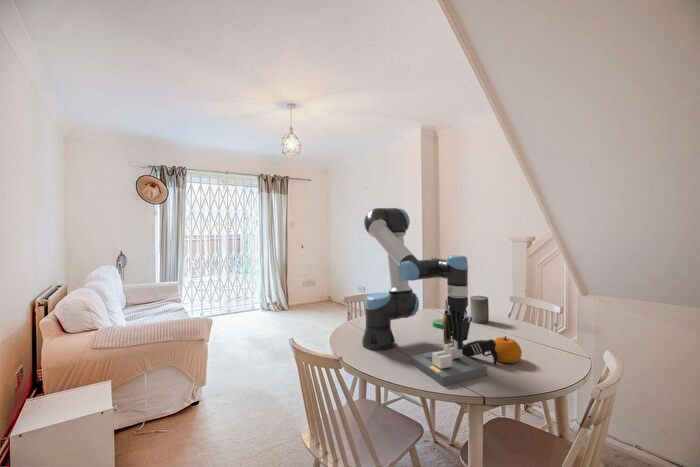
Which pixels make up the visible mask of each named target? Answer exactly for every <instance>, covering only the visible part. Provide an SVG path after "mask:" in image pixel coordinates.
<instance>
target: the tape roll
mask: <svg viewBox="0 0 700 467" xmlns="http://www.w3.org/2000/svg"><path fill="white" fill-rule="evenodd" d="M432 327H434V328H436V329H440V330H444V319H443V318H437V319H433V320H432Z"/></svg>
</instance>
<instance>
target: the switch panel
mask: <svg viewBox="0 0 700 467" xmlns="http://www.w3.org/2000/svg"><path fill="white" fill-rule="evenodd" d="M439 351H443V349H440V350H439V349H438V350H434V351H429V352H424V353H423V352H422V353H418V354H412V355H410V358H409V359H410V361H409V362H410V364H411V365H412V366H414V367H416V369H418V370H420V371H421V372H422V373H423V374H425V375H426V376H428V377H430V379H432V380H434V381H435V382H436V383H438V384H439V385H441V386H443V387H444V386H448V385H451V384H455V383H460V382H465V381H468V380H472V379H476V378H480V377H484V376H488V366H486V365H484V364H482V363H480V362H478V361H476V360H474V359H472V358H471V357H467V356H465V355H463V354H462V357H461V358H456V359H452V366H451V367H447V368H442V369H440V368H439V367H437V366H435V365H434V364H432V353H434V352H439Z"/></svg>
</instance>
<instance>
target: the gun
mask: <svg viewBox="0 0 700 467" xmlns="http://www.w3.org/2000/svg"><path fill="white" fill-rule="evenodd" d="M494 340H495V339H487V340H486V339H485V340H484V339H479V340H478V339H477V340H474V341H470V342H468V343H466V344H465V345H463V349H462V354H463V355H465V356H467V357H469V358H471V357H473V356H477V355H480V354H481V355H482V356H484V357H488V356H492V357H493V364H494V365H495V364H497V363H498V357H497V353H496V351H495V347H496V343H495V341H494ZM486 353H487V354H486Z"/></svg>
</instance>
